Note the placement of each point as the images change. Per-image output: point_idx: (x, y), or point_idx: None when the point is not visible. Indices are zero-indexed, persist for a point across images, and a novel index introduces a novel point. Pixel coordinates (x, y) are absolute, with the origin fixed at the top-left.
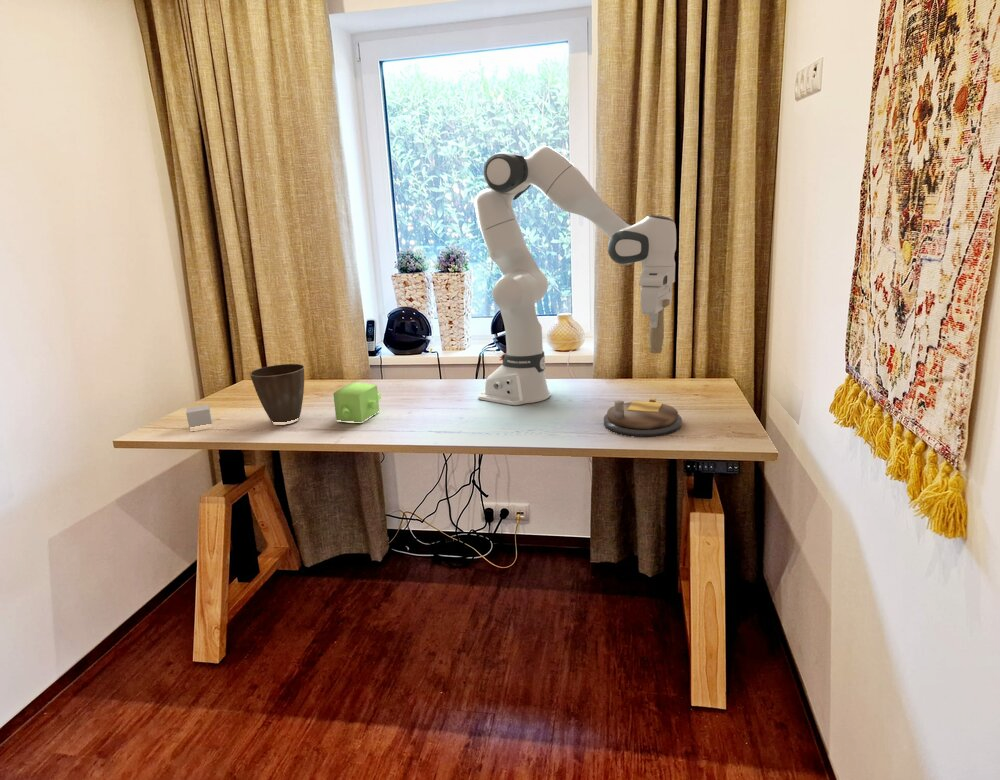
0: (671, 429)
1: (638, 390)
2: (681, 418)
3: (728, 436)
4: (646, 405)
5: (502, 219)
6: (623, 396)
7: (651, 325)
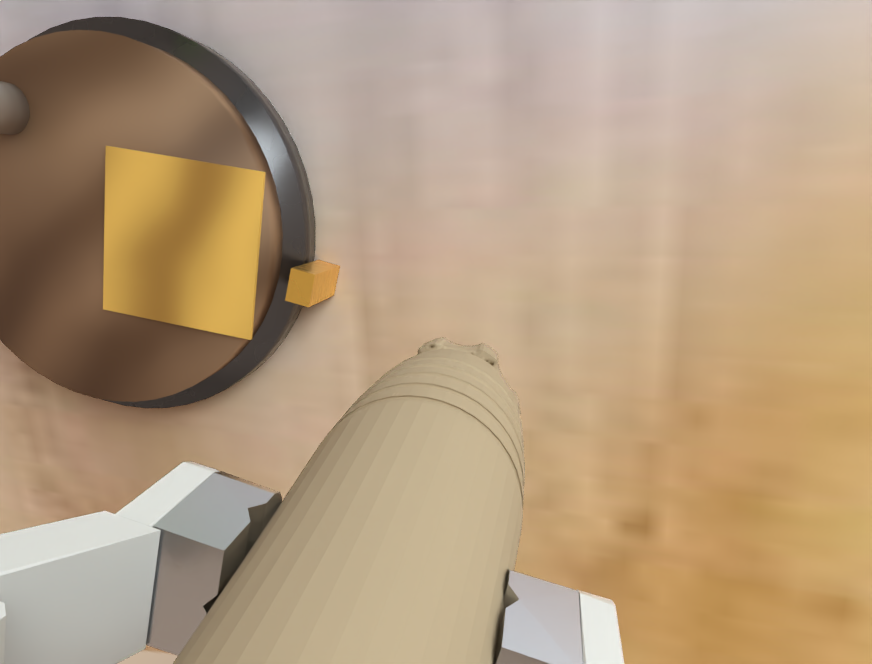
0: None
1: (765, 194)
2: (150, 407)
3: None
4: (190, 251)
5: None
6: (621, 97)
7: (169, 482)
